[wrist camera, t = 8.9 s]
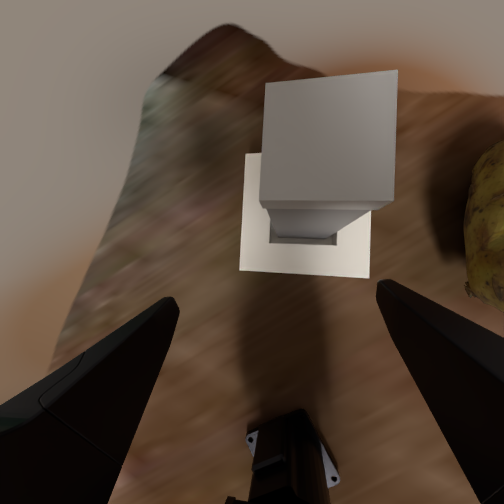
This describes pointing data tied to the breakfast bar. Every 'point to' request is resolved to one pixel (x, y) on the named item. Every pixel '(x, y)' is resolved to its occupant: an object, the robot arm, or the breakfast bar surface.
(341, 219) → the grey tall block
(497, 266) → the potato
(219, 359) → the breakfast bar surface
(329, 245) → the socket
